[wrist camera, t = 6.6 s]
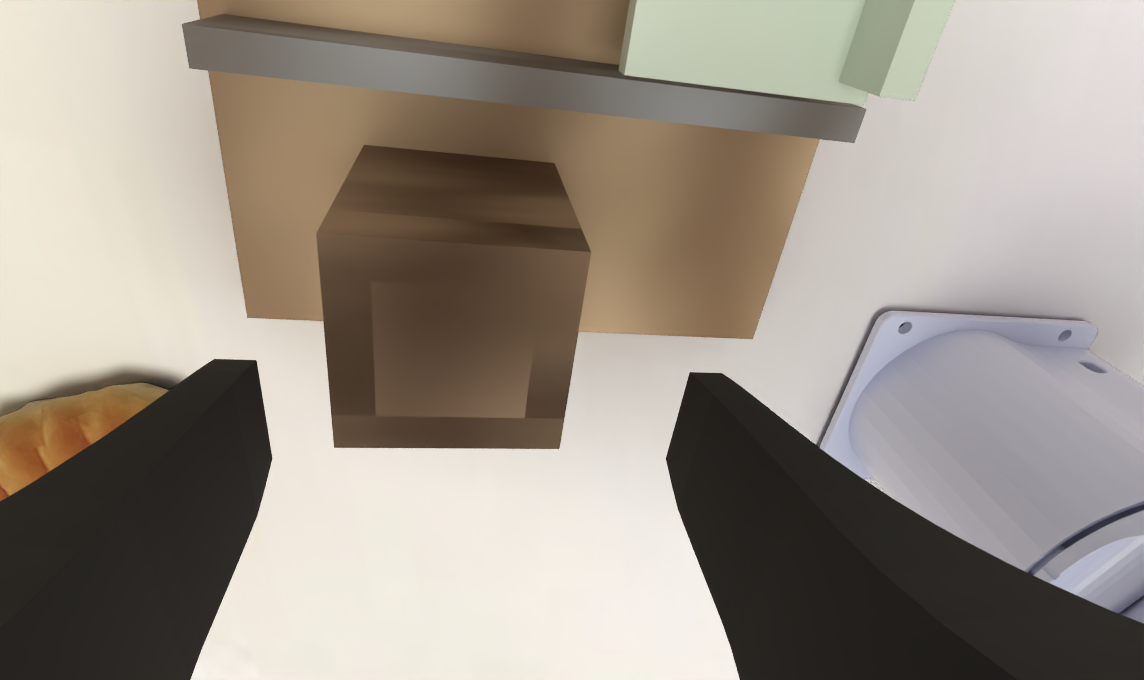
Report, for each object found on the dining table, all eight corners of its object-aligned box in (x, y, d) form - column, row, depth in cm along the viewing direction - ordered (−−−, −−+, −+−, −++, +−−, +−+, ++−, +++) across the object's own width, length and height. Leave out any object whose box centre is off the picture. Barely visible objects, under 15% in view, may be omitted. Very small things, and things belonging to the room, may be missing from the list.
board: (920, -235, 14) (1034, -283, 11) (741, 324, 22) (782, 379, 19) (150, -428, 11) (40, -559, 8) (256, 301, 19) (220, 363, 16)
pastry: (111, 318, 19) (39, 394, 16) (282, 446, 22) (252, 529, 19) (-87, 466, 20) (-188, 562, 17) (102, 563, 24) (47, 657, 21)
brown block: (554, 162, 17) (591, 252, 12) (535, 320, 19) (559, 448, 14) (363, 144, 16) (315, 233, 11) (370, 312, 18) (334, 447, 13)
